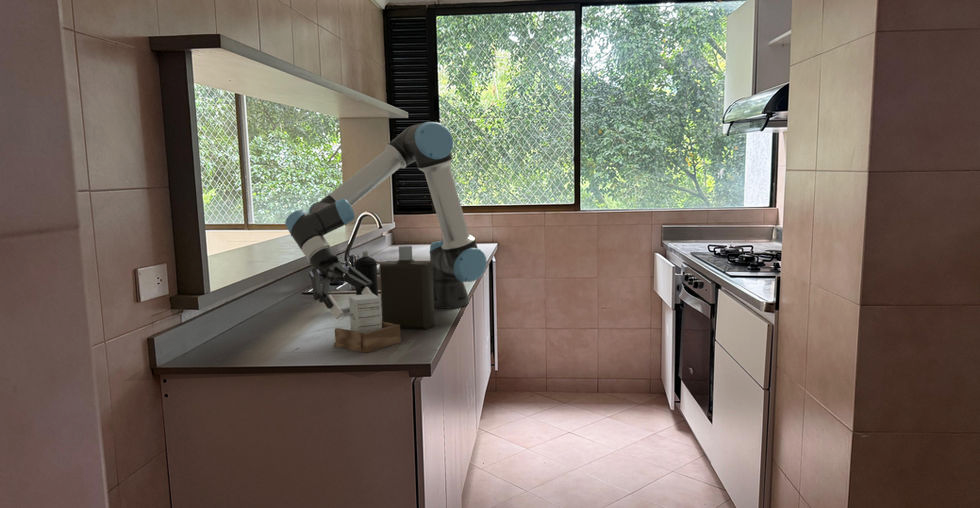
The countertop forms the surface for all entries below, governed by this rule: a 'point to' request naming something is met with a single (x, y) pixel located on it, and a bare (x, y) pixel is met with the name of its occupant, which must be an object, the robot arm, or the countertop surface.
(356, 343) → the u rest
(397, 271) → the bottle
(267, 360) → the countertop surface
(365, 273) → the aerosol can
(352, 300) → the supplement box
